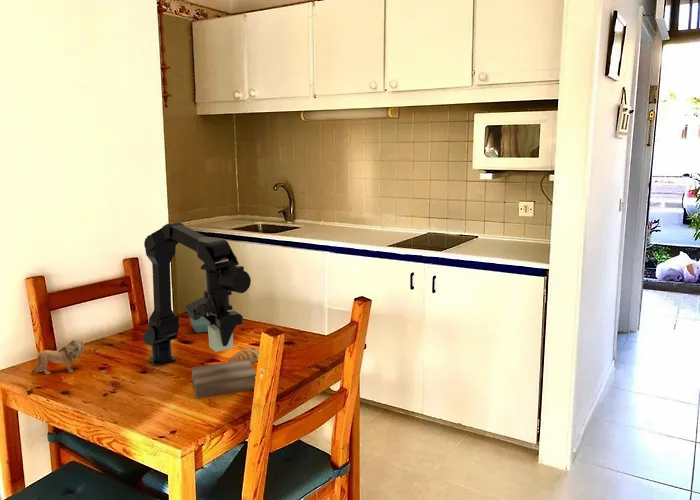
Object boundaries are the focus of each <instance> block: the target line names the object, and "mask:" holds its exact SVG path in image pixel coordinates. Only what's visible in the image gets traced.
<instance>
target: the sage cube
mask: <svg viewBox="0 0 700 500" xmlns="http://www.w3.org/2000/svg"><path fill="white" fill-rule="evenodd" d="M207 333H208V346H209V348H210V349H211V350H213V351H214V352H215V353H219V352H222V351H227V350H231V349H234V332H233V333H232V335H231V337H230V340H229V342H228V344H227V346H223V345H222V341H221V336H220V332H219V328H218V327H216V326H215V325H214V324H213V325H208V332H207Z"/></svg>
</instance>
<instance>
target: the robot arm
mask: <svg viewBox="0 0 700 500" xmlns="http://www.w3.org/2000/svg"><path fill="white" fill-rule="evenodd" d="M178 244H181V245H183V246H184V247H186V248H188V249H190V250H192V251H194V252H195V253H196V257H197V258H198V259H199V260H200V261H202V262H203V264H202V265H201V266H200V270H203V271H205V283H206V290H204V291H203V296H202V297H200V298H198V299H197V300H196V299H195V300H194V301H192V302H190V303H189V304H187V305H185V309H186V312H187V313H188V316H189V319H190V318H192V319H193V320H198V319H200V317H202V316H203V317H204V318H205V319H207V320H208V321H209V323H210V325H213V324H214V325H215V326H216V327H218V328H219V332H220V336H221V341H222V345H223V346H227V344H228V342H229V340H230V337H231V335H232V333H233V334H234V331H235V328H236V327H237V326H239V325H243V324H244V316H243V315H242V314H241V313H240V312H237V311H236V310H233V309H234V307H233V304H232V305H231V303H230V296H231V295H232V292H233V293H237V294H243V293H246V292H247V291H248V290H249V288H250V287H251V282H252V278H251V276H250V274H249V273H248V272H247V271H246V270H245V267H244V266H243V265H239V264H240V263H239V261H238V258H237V256H236V254H235V253H234V251H233V250H232V248H231V246H230V245H231V244H229V241H227V240H226V239H224V238H220V237H211V236H210V237H209V236H205V235H204V234H201V232H200V233H199V232H198V231H196V230H194V229H192V228H190V227H187V226H185V225H184V224H183V223H182V222H179V221H177V222H170V223H165V224H164V225H163V226H161V228H160V229H157V230H155V231H154V232H152V233H151V234H149V235H147V236H146V237H145V238H144V244H143V245H144V249H145V255H146V257H147V258H148V259H149V261H150V262H151V269H152V290H153V291H152V292H153V294H152V295H153V311H152V313H151V315H150V317H149V319H148V325H147V326H148V327H147V329H146V331H145V332H144V334H143V336H142V339H143V343H144V344H146V345H149V346H150V347H151V348H150V349H151V356H150V357H148V359H149V361H150V362H151V363H152V364H153V365H154V366H159V365H162V364H163V365H164V364H167V363H171V362H176V361H177V360H176V358H175V356H174V355H172V354H173V353H172V352H173V351H172V341H173V340H176V339H178V335H179V329H180V323H179V321H180V316H179V315H176V313H175V312H174V311H173V310H172V288H171V287H172V286H171V285H172V282H171V262H172V261H173V259H174V257H175V255H176V249H177V245H178Z"/></svg>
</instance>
